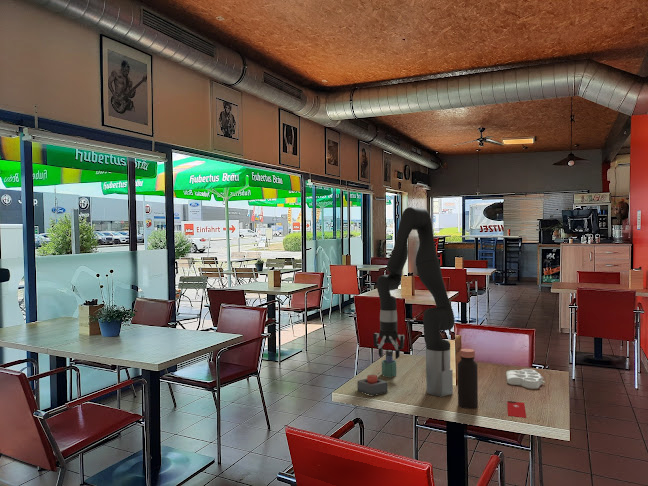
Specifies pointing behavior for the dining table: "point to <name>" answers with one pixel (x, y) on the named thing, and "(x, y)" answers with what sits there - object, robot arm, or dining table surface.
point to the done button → (371, 379)
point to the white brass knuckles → (525, 378)
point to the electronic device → (516, 409)
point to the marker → (389, 356)
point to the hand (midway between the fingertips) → (389, 357)
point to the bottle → (467, 380)
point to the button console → (372, 387)
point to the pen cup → (388, 368)
